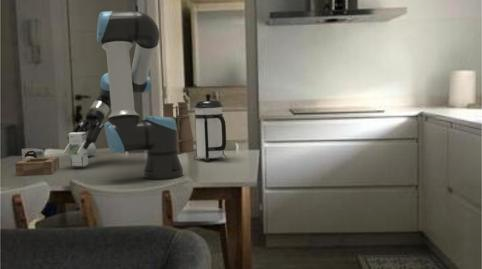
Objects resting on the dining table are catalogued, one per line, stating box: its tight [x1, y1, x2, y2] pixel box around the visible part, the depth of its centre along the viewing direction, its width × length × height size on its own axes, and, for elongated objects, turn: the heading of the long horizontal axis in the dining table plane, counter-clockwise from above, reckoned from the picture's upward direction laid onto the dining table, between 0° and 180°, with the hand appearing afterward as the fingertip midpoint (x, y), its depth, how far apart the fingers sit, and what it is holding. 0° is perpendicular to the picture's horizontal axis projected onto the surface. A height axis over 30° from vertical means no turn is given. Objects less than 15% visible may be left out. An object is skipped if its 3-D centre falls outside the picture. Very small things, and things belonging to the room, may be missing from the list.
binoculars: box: [162, 101, 195, 155], centre depth 270 cm, size 21×10×25 cm, turn 145°
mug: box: [21, 147, 45, 160], centre depth 253 cm, size 10×7×7 cm
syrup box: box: [68, 131, 89, 167], centre depth 233 cm, size 6×6×14 cm
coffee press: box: [193, 93, 227, 163], centre depth 243 cm, size 17×16×30 cm
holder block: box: [14, 156, 60, 177], centre depth 227 cm, size 14×14×5 cm
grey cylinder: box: [87, 142, 97, 158], centre depth 266 cm, size 11×8×8 cm
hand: (72, 154), depth 230 cm, fingers closed on syrup box, 7 cm apart
